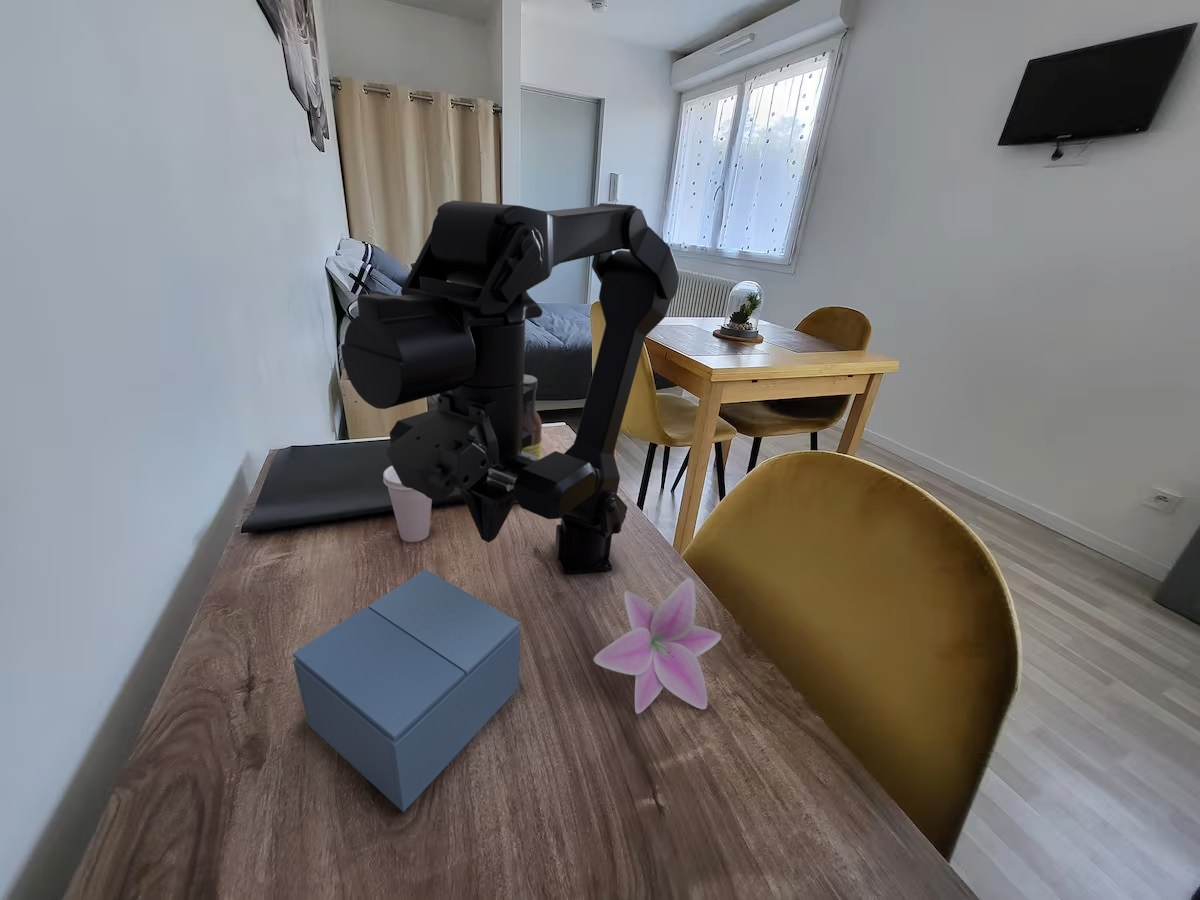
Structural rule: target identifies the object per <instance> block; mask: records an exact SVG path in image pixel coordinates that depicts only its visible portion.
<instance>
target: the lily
mask: <svg viewBox="0 0 1200 900" xmlns="http://www.w3.org/2000/svg"><path fill="white" fill-rule="evenodd" d="M623 595H624V603H625V609H626V613H627V619H628V621H629V625H630V628H631V630H629V631H628V632H626V633H625V634H623V635H622V636H620V637H619V638H617V639H616V640H613V642H611V643H610V644H608V645H606V646H605V647H604V648H602V649H601V650H599V652H597V653H596V654H595V655H594V657H593V660H592V661H593V662H594V663H595V664H596V665H597V666H600V667H602V668H603V669H607V670H609V671H613V672H616V673H621V674H623V675H629V676H635V680H634V712H635V714H636V715H639V714H641V713H642V712H643V711H645V710H646V709H647V708H648V707H649V706H650V705H651V704H652V703H653V702H654V700H656V698H657V697H658V696H659V695H660V693H661V692H662V690H663V689H664V688H665V689H667V691H669V692H670V693H672V694H673V695H675V696H676V697H677V698H678V699H681V700H682V701H684V702H686V703H687V704H689V705H691V706H692V707H695V708H696V709H699V710H706V709H707V707H708V704H709V703H708V692H707V686H706V682H705V678H704V674H703V670H702V667H701V665H700V662H699V660H698V657H699V656H701V655H704V653H706V652H708V651H709V650H710V649H712V648H713V647H714V646H715V645H716V644H718V643H719V641H721V639H722V634H721V633H720V632H717V631H715V630H713V629H709V628H707V627H704V626H699V625H696V624H695V625H694V623H695V618H696V611H697V610H696V603H697V601H696V586H695V582H694V580H693V578H692V577H687V578H685V579H684V580H683V581H682V582H681V583H680V584H679V585H678V586H677V587H676V588H675V589H674V590H673V591H672V592H671V594H669V596H667V598H666V599H665V600H663V601H662V602H661V604H660V605H659V606H658V607H655V606H654V605H653V604H652V603H650V602H649V601H647V600H645V599H644V598H642V597H641V596H639V595H638V594H636V593H635V592H632V591H628V590H625V591H624V594H623Z"/></svg>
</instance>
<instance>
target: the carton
mask: <svg viewBox="0 0 1200 900" xmlns="http://www.w3.org/2000/svg"><path fill="white" fill-rule="evenodd" d="M520 643H521V628H519V626H518V627H517V628H516V629H515V630H514V631H513V632H512V633H511V634H510V635H508V636H507V637H506V638H505V639H504V640H503V641H502V642H501V643H500V644H499V645H498V646H497V647H496V648H494V649H493V650H492V651H491V652H490V653H489V654H488V655H487V656H486V657H485V658H484V659H483V660H482V661H481V662H479V663H478V664H477V665H476V666H475V667H474V668H473V669H472V670H471V671H470V672H469V673H468V674H465V673H464V672H463V671H462V670H460V669H459V668H457V667H456V666H454V665H453V664H451V663H450V662H448V661H447V660H445V659H444V658H442V657H441V656H439V655H438V654H436V653H435V652H433V651H432V650H430V649H429V648H427V647H426V646H424V645H423V644H421V643H420V642H418V641H417V640H415V639H414V638H412V637H411V636H409V635H408V634H406V633H405V632H403V631H402V630H400V629H399V628H397V627H396V626H394V625H393V624H391V623H390V622H388V621H387V620H385V619H384V618H382V617H381V616H379V615H378V614H376V613H375V612H373V611H372V610H371V609H369V608H368V606H364V607H363V608H361V609H360V610H359V611H357V612H355V613H354V614H352V615H351V616H349V617H348V618H346V619H344V620H343V621H341V622H339V623H338V624H336V625H334V626H333V627H332V628H330V629H328V630H327V631H324V633H322V634H320V635H318V636H317V637H316V638H313V640H310V641H309V642H308V643H306V644H305V645H303V646H301V647H300V648H298V649H296V650H295V651H294V652H292V657H293V658H294V660H292V663H293V667H294V671H295V675H296V679H297V680H296V681H297V683H298V688H299V693H300V696H301V701H302V705H303V709H304V714H305V717H306V722H307V725H308V727H309V728H310V729H312V731H314V732H315V733H316V734H317V735H318V736H319V737H320V738H322V739H323V740H324V741H325V742H326V743H327V744H328V745H329V746H330V747H331V748H332V749H334V751H336V752H337V754H339V755H340V756H341V757H342V758H343V759H344V760H346V761H347V762H348V763H349V764H350V765H351V766H352V767H353V768H354V769H355V770H356V771H357V772H359V774H360V775H362V776H363V777H364V778H365V779H366V780H367V781H368V782H370V783H371V784H372V785H373V786H374V787H375V788H376V789H377V790H378V791H379V792H380V793H382V794H383V795H384V796H385V797H386V798H387V799H388V800H389V801H390V802H391V803H393V804H394V805H395V807H397V808H398V809H399V810H400V811H401V812H402V813H404V812H405V811H407V809H408V808H409V807H410V806H411V805H412V804H413V803H414V802H415V801H416V799H417V798H418V797H419V796H420V795H422V794H423V792H424V791H425V790H426V789H427V788H428V787H429V786H430V784H431V783H433V781H434V780H435V779H436V778H437V777H438V776H439V775H440V774H441V773H442V771H443V770H444V769H445V768H446V767H447V766H448V765H449V764H450V763H451V762H452V761H453V760H454V759H455V758H456V756H458V754H459V753H460V752H461V751H462V750H463V749H464V748H465V747H466V746H467V744H469V742H470V741H471V740H472V739H473V738H474V737H475V736H476V735H477V734H478V733H479V732H480V731H481V729H483V727H484V726H485V725H486V724H487V723H488V722H489V721H490V720H491V719H492V718H493V716H494V715H495V714H497V712H498V711H499V710H500V709H501V708H502V707H503V706H504V705H505V703H507V701H508V700H509V699H510V698H511V697H512V696H513V695H514V694H515V693H516V692H517V691H518V689H519V686H520V685H519V681H520V680H519V679H520V648H521V646H520V645H521V644H520Z"/></svg>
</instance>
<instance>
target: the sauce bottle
mask: <svg viewBox="0 0 1200 900" xmlns="http://www.w3.org/2000/svg"><path fill="white" fill-rule="evenodd" d="M524 386H525V387H529V388H532V389H533V400H532V401H530V402H527V403H524V404H523V431H524V432H527V433H530V434H532V445H530V446H528V447H526V448H523V449H522V451H523V452H526V453H529V454H532V455H534V456H537V457H538V460H539V459H541V458H542V456H541V455H542V454H541V453H542V441H543V440H542V428H543V423H542V418H541V417H540V413H538V411H537V410H536V406H537V404H536V392H537V389H538V378H537V377H535V376H534V375H530V374H525V373H524ZM514 504H519V503H518V502H517V500H516V501H515V503H514Z"/></svg>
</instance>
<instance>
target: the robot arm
mask: <svg viewBox="0 0 1200 900" xmlns="http://www.w3.org/2000/svg"><path fill="white" fill-rule="evenodd" d="M436 211H437V214H436V216H435V217H434V219H433V222H432V227H431V231H430V233H429V235H428V237H427V239H426V241H425V243H424V244H423V246H422V249H421V250H420V252H419V255H418V256H417V258H416V260H415V262H414V264H413V266H412V267H411V270H410V272H409V273H408V275H407V278H406V280H405V282H404V284H403V285H402V287H401V289H400V294H401V295H385V294H380V293H367V294H366V293H364V294H359V295H358V296H357V298H356V303H357V310H358V315H357V316H356V317H354V318H353V319H351V320H350V322H349V323H348V325H347V327H346V330H345V334H344V341H343V344H341V346H340V349H341V350H340V352H341V359H342V363H343V367H344V370H345V372H346V376H347V378H348V380H349V382H350V384H351V386H352V387H353V389H354V390H355V392H356V393H357V394H358V396H359V397H360V398H361V399H362V400H363V401H364V402H365V403H367V404H368V405H369V406H371V407H373V408H375V409H379V410H386V409H390V408H393V407H397V406H400V405H405V404H408V403H411V402H414V401H419V400H422V399H425V398H430V397H432V396H437V395H438V396H437V397H436V398H437V399H436V405H437V406H436V408H434V409H431V410H427V411H424V412H421V413H418V414H415V415H411V416H409V417H405V418H401V419H399V420H396V422H395V424H394V425H393V427H392V428H391V430H390V432H389V442H390V445H389V446H388V447H387V448H386V451H385V454H386V456H387V458H388V460H389V462H390V465H391V466H393V468H394V470H395V472H396V474H397V475H398V477H399V479H400V481H401V483H402V485H403V486H405V487H407V488H412V489H414V490H416V491H418V492H420V493H423V494H424V495H425V496H426V497H428V498H430V499H432V501H433V500H434V501H436V500H438V501H439V500H442V499H445V498H447V497H448V496H450V495H452V493H453V492H454V491H455V488H457V490H458V491H459V492H460V494H461V496H462V498H463V500H464V502H465V504H466V506H467V509H468V511H469V513H470V515H471V517H472V521H473V522H474V525H475V527H476V529H477V532H478V534H479V536H480V539H481V540H482V541H484V542H486V543H491V542H493V541H494V540H496V538H497V537H498V535H499V533H500V531H501V529H502V527H503V526H504V524H505V521H506V520H507V518H508V516H509V514H510V512H511V510H512V509H513V507H514V505H515V504H516V503H515V501H516V500H517V502H518V503H517V504H518V505H519V506H520V508H521V509H523V510H525V511H527V512H530V513H532V514H535V515H537V516H540V517H542V518H544V519H546V520H559V519H560V523H559V524H557V525H556V528H555V541H554V542H555V543H554V552H555V556H556V560H557V562H558V563H560V565H561V569H562V572H563V574H564V575H574V574H575V575H576V574H577V575H578V574H588V573H599V572H601V573H602V572H609V571H612V570H613V564H612V561H611V560H612V559H611V558H610V556H611V555H610V554H611V548H612V547H611V546H612V539H613V535H614V534H620V533H621V532H622V526H623V524H624V522H625V519H626V517H627V512H628V505H626V503H625V502H624V501H623V500H622V498H621V497H620V496H619V495H618V490H619V484H620V480H621V475H620V473H619V468H618V466H617V461H616V458H615V454H614V453H615V448H616V446H617V441H618V437H619V434H620V431H621V427H622V423H623V420H624V416H625V413H626V408H627V406H628V402H629V397H630V394H631V391H632V386H633V384H634V380H635V377H636V372H637V369H638V366H639V362H640V358H641V354H642V351H643V347H644V344H645V340H646V336H648V335H649V334H650V333H651V332H652V331H653V330H654V329H655V328H656V327H657V326H659V324H660V323H661V322H662V321H663V320H664V319H665V318H666V315H667V313H668V310H669V307H670V304H671V301H672V300H673V299H674V298H675V296H676V295H677V292H678V288H679V283H680V273H679V269H678V266H677V262H676V260H675V256H674V254H673V251H672V248H671V247H670V245H669V244H667V242H665V240H663V238H661V236H659V235H658V234H657V233H656V232H655V231H654V230H653V229H652V228H651V227H650V225H649V223H648V221H647V218H646V215H645V213H644V211H643V209H641V208H638V207H637V206H636V205H633V204H620V203H607V202H600V203H598V204H596V205H594V206H586V207H574V208H563V209H554V210H541V209H537V208H532V207H527V206H524V205H516V204H515V205H514V204H503V203H491V202H479V201H466V200H454V199H453V200H450V201H447V202H443V203H442V204H441V205H440V206H438V207H437V210H436ZM589 257H592V261H591V268H592V270H593V272H594V274H595V276H596V277H597V279H598V281H599V283H600V287H599V295H598V301H599V305H600V308H601V312H602V315H603V319H604V322H605V324H604V329H603V333H602V337H601V340H600V345H599V349H598V351H597V356H596V360H595V363H594V367H593V371H592V374H591V378H590V382H589V386H588V390H587V393H586V397H585V402H584V404H583V408H582V412H581V415H580V416H581V417H580V420H579V423H578V428H577V432H576V435H575V439H574V442H573V444H572V445H571V446H570V447H568V449H567V450H566V451H565V452H564V453H563V452H560V451H557V450H554V451H553V452H550V453H549V454H547V455H545V456H544V457H541V459H539V460H538V457H537V456H534V455H532V454H529V453H526V452H523V451H522V449H523V448H526V447H528V446H530V445H532V434H530V433H527V432H524V431H523V404H524V403H527V402H530V401H532V400H533V389H532V388H529V387H525V386H524V374H525V345H526V344H525V343H526V341H525V340H526V338H525V337H526V320H530V319H537V318H541V317H542V315H543V309H542V307H541V306H540V305H539V304H538V303H537V302H536V301H535V300H534V299H533V298H532V297H531V295H530V294H529V293H528V291H529V290H531V289H532V288H534V287H536V286H537V285H539V284H541V283H543V282H545V281H546V280H548V279H549V278H550V276H551V274H552V271H553V269H554V267H556V266H558V265H560V264H564V263H567V262H571V261H572V262H573V261H576V260H580V259H584V258H589Z"/></svg>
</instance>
